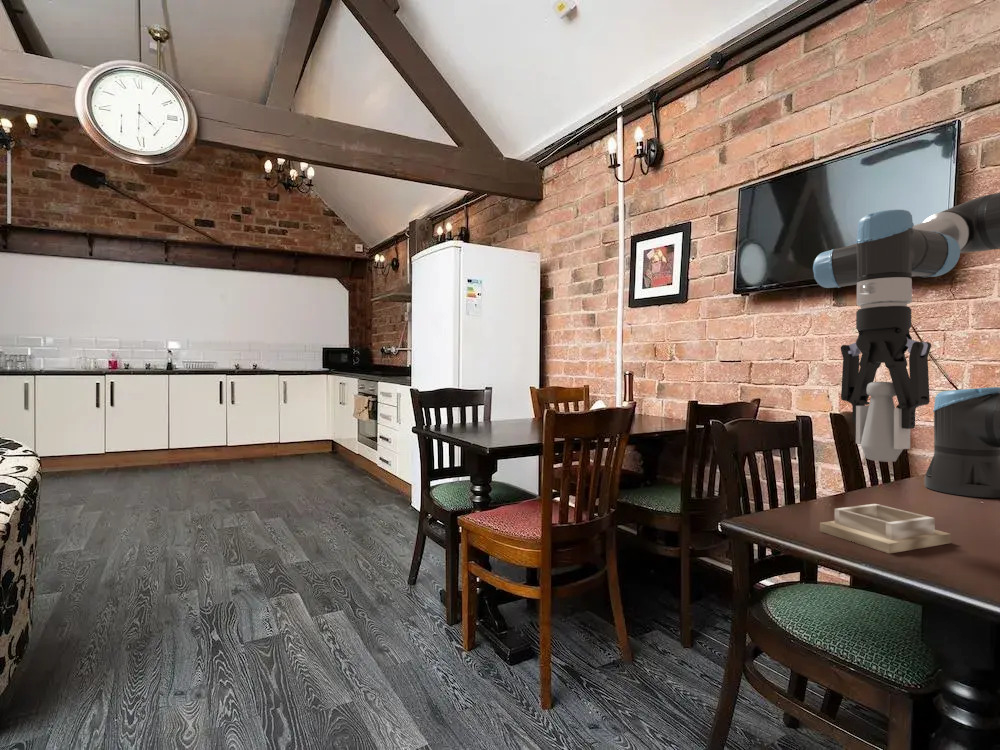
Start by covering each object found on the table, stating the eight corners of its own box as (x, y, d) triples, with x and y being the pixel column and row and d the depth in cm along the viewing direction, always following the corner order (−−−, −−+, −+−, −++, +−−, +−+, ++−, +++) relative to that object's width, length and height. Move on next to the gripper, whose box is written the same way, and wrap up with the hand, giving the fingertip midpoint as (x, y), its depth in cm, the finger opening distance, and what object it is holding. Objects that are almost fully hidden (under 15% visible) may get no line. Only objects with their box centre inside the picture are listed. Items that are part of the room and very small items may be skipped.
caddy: (877, 523, 99) (877, 501, 99) (950, 543, 88) (951, 518, 88) (819, 531, 94) (819, 508, 94) (888, 553, 83) (888, 527, 83)
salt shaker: (912, 462, 88) (913, 382, 88) (878, 462, 88) (879, 382, 87) (884, 456, 94) (885, 381, 94) (852, 456, 94) (853, 381, 93)
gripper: (816, 311, 98) (815, 440, 98) (928, 299, 80) (926, 455, 81) (847, 313, 101) (846, 438, 101) (962, 301, 83) (960, 453, 83)
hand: (882, 445), depth 91 cm, fingers closed on salt shaker, 6 cm apart
